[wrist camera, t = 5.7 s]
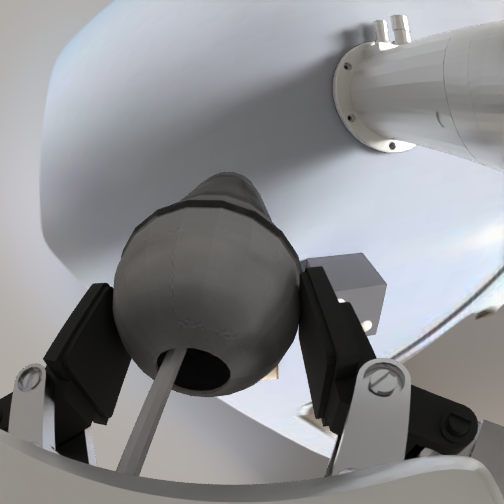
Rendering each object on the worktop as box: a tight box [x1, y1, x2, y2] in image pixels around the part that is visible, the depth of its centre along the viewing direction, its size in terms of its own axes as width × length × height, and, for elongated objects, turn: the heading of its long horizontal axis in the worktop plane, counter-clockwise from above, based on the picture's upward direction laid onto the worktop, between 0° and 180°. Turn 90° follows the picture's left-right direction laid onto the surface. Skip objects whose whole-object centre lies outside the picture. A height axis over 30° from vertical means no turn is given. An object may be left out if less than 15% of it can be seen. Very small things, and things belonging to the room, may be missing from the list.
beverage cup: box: [112, 172, 302, 476], centre depth 12 cm, size 7×7×20 cm
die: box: [307, 253, 387, 336], centre depth 31 cm, size 7×7×7 cm
